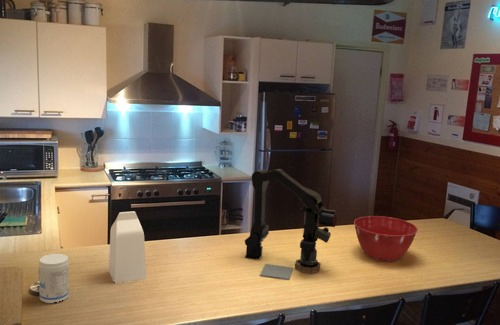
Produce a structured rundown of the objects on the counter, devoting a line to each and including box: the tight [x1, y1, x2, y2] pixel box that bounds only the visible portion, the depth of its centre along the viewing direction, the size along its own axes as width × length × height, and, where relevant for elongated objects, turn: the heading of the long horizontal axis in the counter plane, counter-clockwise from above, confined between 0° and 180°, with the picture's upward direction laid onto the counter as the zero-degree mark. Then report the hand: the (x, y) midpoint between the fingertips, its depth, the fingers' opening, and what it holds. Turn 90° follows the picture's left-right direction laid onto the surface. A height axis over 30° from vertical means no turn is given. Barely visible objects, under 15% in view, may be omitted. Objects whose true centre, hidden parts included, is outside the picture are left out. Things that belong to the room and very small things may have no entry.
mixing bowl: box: [353, 215, 419, 263], centre depth 222 cm, size 28×28×16 cm
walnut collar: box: [294, 258, 322, 275], centre depth 204 cm, size 10×10×3 cm
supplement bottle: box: [299, 248, 318, 268], centre depth 203 cm, size 7×7×12 cm
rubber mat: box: [259, 263, 294, 281], centre depth 199 cm, size 12×12×1 cm
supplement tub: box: [38, 253, 70, 304], centre depth 166 cm, size 10×10×15 cm
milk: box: [108, 211, 147, 284], centre depth 186 cm, size 12×12×26 cm
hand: (308, 257), depth 203 cm, fingers closed on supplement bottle, 7 cm apart
